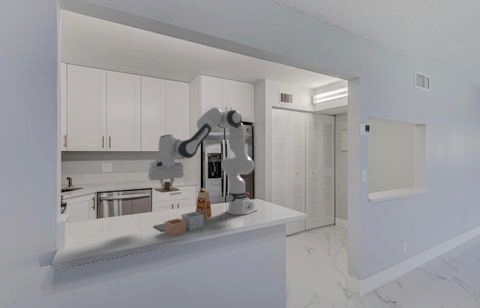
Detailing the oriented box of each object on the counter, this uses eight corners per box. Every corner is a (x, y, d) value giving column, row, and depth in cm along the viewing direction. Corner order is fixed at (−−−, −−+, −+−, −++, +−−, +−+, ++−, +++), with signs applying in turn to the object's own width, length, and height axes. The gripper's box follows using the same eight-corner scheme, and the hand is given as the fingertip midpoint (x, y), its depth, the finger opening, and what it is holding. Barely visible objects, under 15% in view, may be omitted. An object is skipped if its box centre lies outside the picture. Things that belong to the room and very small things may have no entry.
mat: (171, 222, 145) (171, 221, 145) (180, 227, 137) (180, 226, 137) (153, 226, 137) (153, 225, 137) (162, 231, 129) (162, 230, 129)
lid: (170, 188, 143) (170, 180, 143) (179, 190, 136) (179, 182, 136) (154, 190, 136) (154, 181, 136) (162, 192, 129) (162, 183, 129)
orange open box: (178, 228, 133) (178, 218, 133) (185, 232, 128) (185, 221, 127) (164, 232, 128) (164, 221, 128) (171, 236, 122) (171, 224, 122)
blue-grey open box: (195, 223, 144) (194, 211, 144) (203, 226, 137) (203, 214, 137) (181, 226, 138) (181, 214, 137) (189, 230, 131) (189, 217, 131)
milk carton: (207, 219, 150) (207, 188, 150) (193, 219, 152) (193, 188, 152) (212, 215, 159) (212, 186, 159) (199, 215, 161) (199, 185, 161)
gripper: (180, 161, 145) (180, 184, 146) (147, 163, 131) (147, 188, 132) (185, 162, 141) (185, 185, 141) (151, 163, 127) (152, 189, 127)
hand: (166, 186), depth 136 cm, fingers closed on lid, 3 cm apart
